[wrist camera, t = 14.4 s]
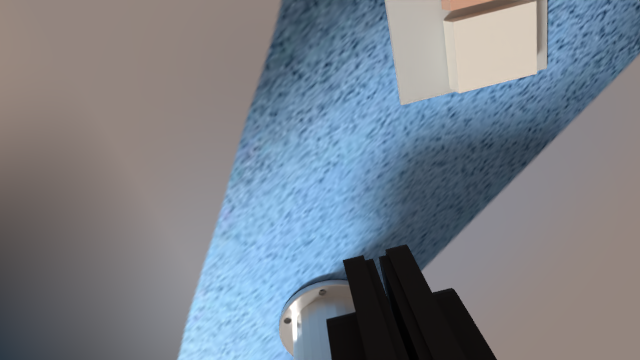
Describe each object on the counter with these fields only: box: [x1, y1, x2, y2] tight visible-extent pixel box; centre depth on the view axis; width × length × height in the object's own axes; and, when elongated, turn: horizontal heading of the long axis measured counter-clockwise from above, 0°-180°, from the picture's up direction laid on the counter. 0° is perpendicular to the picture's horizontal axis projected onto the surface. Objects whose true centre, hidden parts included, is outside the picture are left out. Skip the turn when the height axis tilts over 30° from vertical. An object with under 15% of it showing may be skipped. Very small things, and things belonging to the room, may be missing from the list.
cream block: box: [443, 1, 537, 93], centre depth 36 cm, size 6×2×7 cm
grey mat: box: [385, 0, 547, 105], centre depth 35 cm, size 14×14×1 cm
